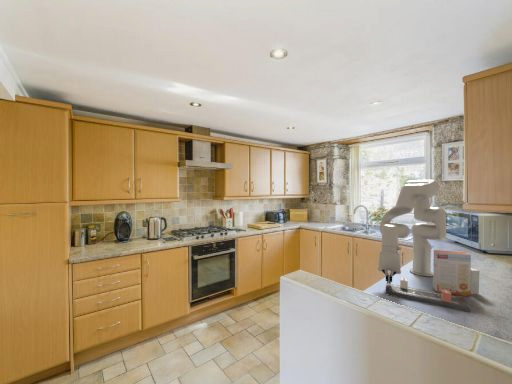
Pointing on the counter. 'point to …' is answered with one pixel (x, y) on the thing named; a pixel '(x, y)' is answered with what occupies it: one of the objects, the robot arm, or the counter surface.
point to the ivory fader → (404, 283)
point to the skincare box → (474, 281)
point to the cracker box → (452, 272)
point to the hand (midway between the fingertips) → (388, 282)
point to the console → (427, 297)
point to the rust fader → (446, 295)
